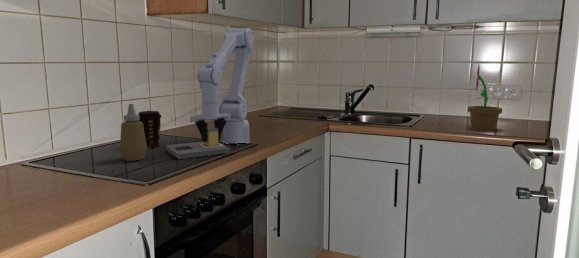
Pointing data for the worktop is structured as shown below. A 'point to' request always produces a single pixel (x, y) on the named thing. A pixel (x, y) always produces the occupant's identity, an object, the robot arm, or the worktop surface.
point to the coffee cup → (151, 127)
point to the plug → (212, 137)
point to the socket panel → (195, 149)
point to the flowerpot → (483, 112)
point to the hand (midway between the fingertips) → (211, 140)
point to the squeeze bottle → (132, 136)
